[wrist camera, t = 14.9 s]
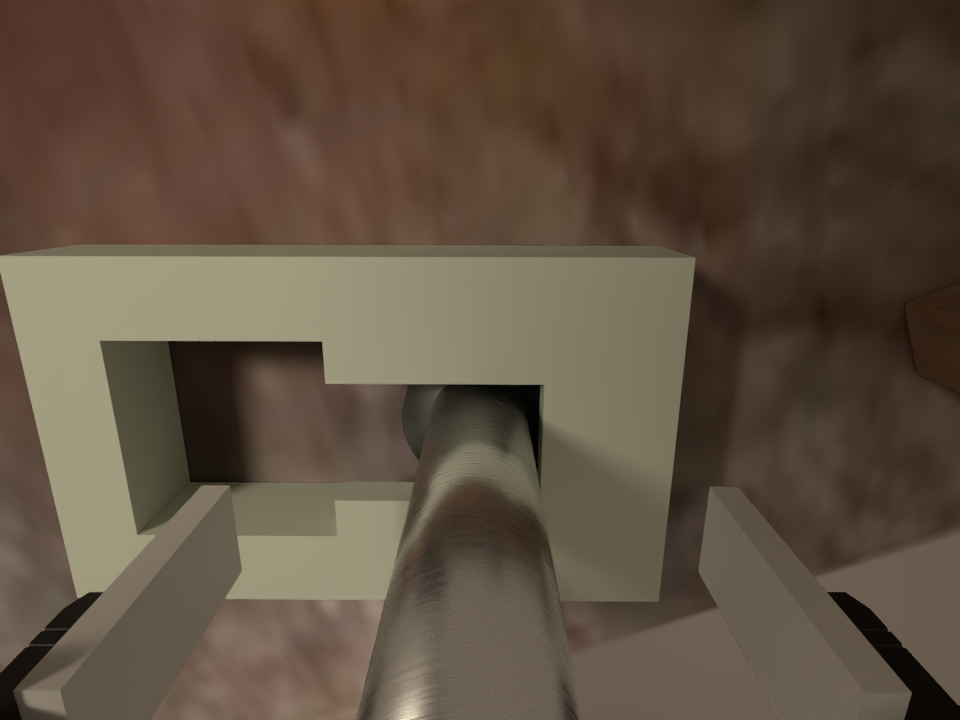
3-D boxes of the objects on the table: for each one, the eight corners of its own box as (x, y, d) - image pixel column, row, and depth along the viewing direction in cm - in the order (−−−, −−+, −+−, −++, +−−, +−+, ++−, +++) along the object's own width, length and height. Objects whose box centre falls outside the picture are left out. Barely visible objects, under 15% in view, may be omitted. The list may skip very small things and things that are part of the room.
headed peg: (410, 467, 27) (273, 976, 9) (405, 334, 25) (223, 662, 8) (548, 468, 27) (662, 981, 9) (553, 334, 25) (707, 666, 8)
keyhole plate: (137, 537, 28) (77, 597, 24) (81, 244, 24) (-4, 256, 20) (632, 540, 28) (658, 602, 24) (659, 245, 24) (695, 257, 20)
